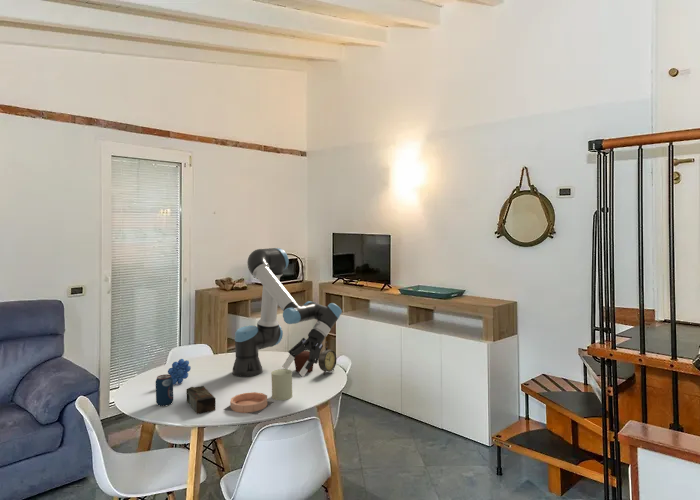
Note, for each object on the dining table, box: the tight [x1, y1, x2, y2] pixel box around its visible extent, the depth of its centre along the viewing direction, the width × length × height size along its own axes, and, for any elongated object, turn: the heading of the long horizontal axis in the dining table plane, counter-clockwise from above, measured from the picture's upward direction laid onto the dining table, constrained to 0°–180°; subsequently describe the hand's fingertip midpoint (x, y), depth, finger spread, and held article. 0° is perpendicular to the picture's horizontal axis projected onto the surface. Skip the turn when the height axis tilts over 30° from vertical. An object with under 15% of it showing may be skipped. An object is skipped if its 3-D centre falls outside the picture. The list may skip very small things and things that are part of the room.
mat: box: [223, 400, 275, 415], centre depth 197 cm, size 16×14×1 cm
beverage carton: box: [185, 385, 216, 415], centre depth 199 cm, size 8×19×7 cm, turn 31°
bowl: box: [229, 391, 268, 414], centre depth 197 cm, size 15×15×3 cm
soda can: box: [155, 373, 174, 407], centre depth 202 cm, size 7×7×12 cm
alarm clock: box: [317, 341, 337, 376], centre depth 242 cm, size 11×5×16 cm, turn 148°
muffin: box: [293, 350, 314, 374], centre depth 246 cm, size 12×11×10 cm
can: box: [270, 368, 293, 401], centre depth 207 cm, size 9×9×12 cm
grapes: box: [167, 358, 192, 385], centre depth 229 cm, size 12×7×12 cm, turn 134°
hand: (292, 371), depth 210 cm, fingers open, 13 cm apart
